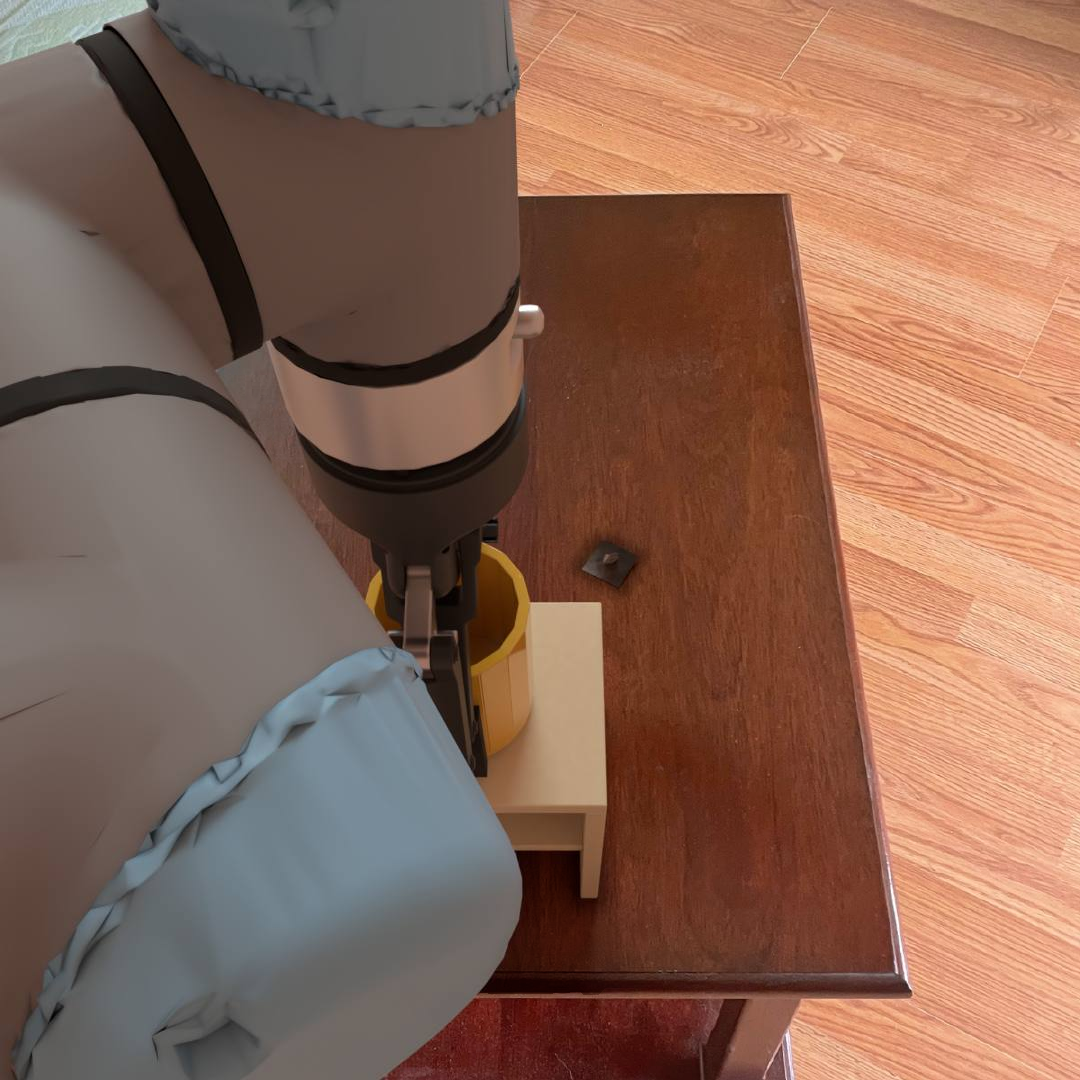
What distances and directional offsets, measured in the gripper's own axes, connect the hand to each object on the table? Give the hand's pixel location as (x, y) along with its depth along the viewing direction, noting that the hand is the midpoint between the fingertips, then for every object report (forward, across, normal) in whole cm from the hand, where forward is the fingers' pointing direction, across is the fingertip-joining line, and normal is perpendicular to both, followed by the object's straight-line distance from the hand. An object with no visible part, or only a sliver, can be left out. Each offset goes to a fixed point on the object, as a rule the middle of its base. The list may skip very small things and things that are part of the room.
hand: (462, 692), depth 54 cm
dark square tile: (+17, +18, -8) cm, 26 cm away
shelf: (+17, 0, 0) cm, 17 cm away
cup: (0, 0, 0) cm, 0 cm away
